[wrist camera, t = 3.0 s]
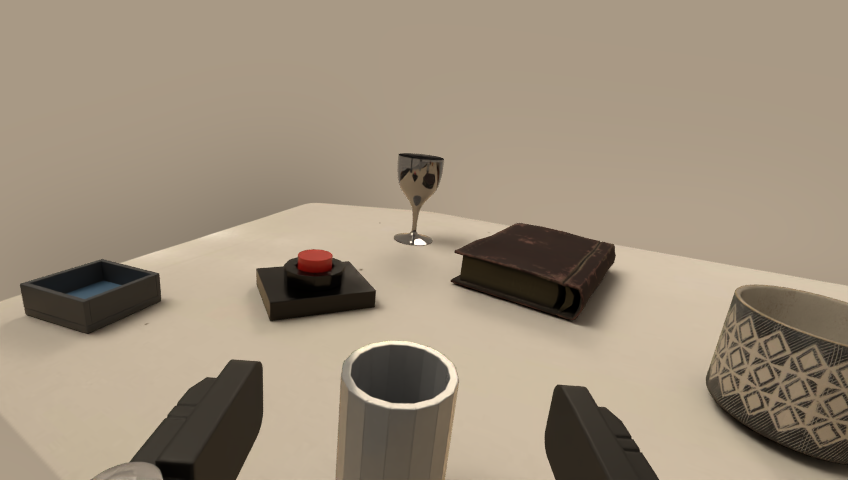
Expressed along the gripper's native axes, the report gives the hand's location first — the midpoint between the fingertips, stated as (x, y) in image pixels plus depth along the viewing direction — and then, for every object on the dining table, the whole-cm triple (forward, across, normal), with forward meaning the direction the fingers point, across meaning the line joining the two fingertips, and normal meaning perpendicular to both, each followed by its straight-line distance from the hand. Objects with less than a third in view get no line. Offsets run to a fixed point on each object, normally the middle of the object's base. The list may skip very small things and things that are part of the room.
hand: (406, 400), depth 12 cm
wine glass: (+67, -1, +16) cm, 69 cm away
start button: (+39, +11, +12) cm, 43 cm away
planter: (+22, -35, +16) cm, 44 cm away
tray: (+32, +32, +16) cm, 48 cm away
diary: (+53, -20, +16) cm, 59 cm away
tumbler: (+10, 0, +16) cm, 19 cm away
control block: (+40, +11, +16) cm, 44 cm away
